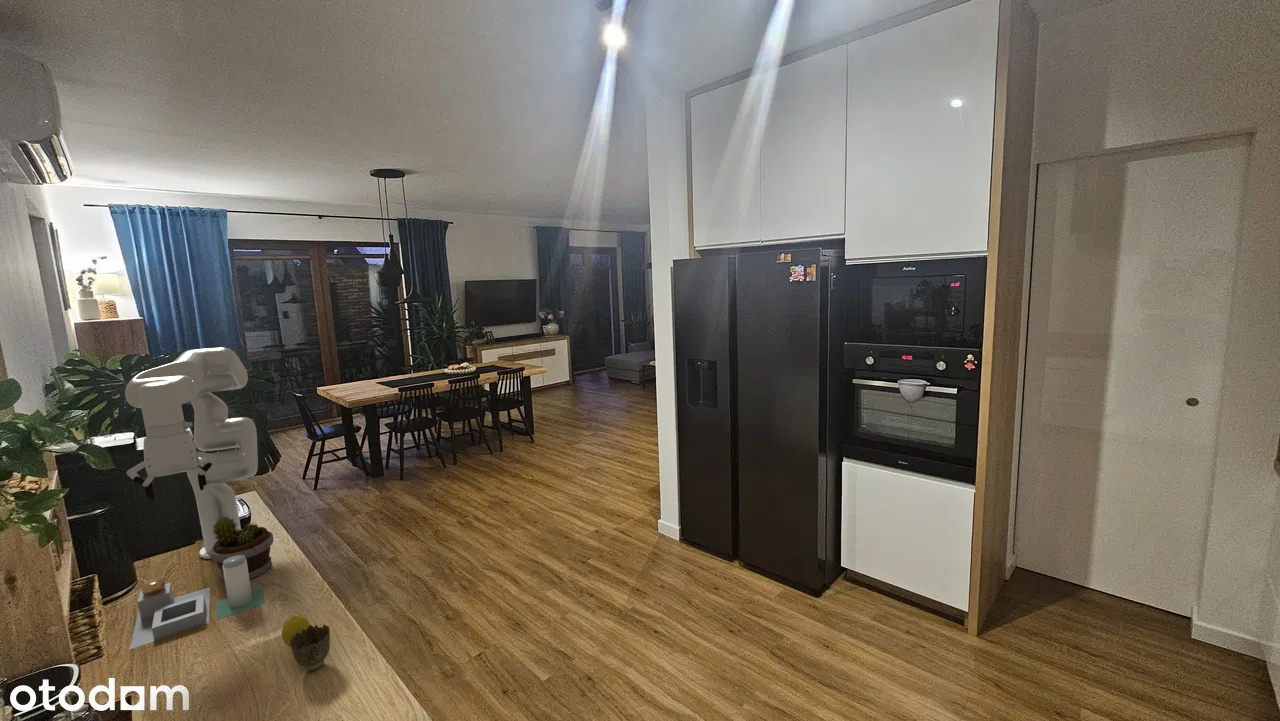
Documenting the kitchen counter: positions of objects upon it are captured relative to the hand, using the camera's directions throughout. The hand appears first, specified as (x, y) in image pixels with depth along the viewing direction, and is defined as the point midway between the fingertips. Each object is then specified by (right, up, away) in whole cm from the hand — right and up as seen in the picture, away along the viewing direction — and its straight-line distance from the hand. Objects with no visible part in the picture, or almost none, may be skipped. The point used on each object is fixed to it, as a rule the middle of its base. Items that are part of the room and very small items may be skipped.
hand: (178, 493), depth 139 cm
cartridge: (+15, -29, +2) cm, 33 cm away
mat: (+15, -30, +2) cm, 33 cm away
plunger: (-5, -29, 0) cm, 29 cm away
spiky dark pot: (+48, -33, -21) cm, 62 cm away
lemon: (+41, -32, -15) cm, 54 cm away
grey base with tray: (+1, -31, -3) cm, 31 cm away
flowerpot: (+6, -28, +17) cm, 33 cm away
